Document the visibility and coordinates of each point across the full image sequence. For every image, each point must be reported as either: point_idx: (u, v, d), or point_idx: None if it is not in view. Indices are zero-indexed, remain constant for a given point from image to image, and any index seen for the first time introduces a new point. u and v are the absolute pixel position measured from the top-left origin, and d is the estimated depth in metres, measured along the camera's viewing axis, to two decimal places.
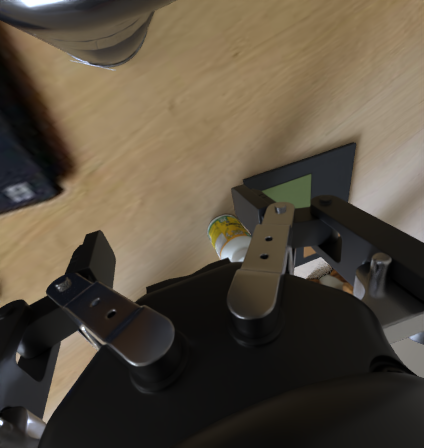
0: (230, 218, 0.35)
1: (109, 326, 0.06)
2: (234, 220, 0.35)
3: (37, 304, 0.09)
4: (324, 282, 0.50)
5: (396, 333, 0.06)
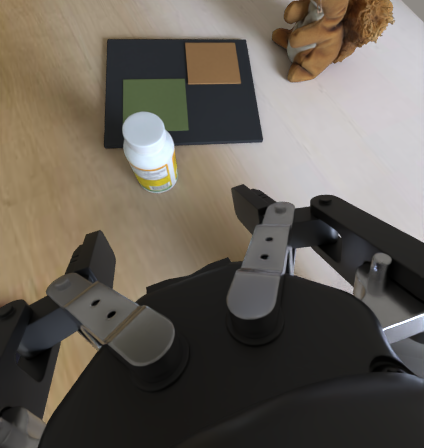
0: None
1: (109, 326, 0.06)
2: None
3: (37, 304, 0.09)
4: (292, 52, 0.36)
5: (396, 333, 0.06)
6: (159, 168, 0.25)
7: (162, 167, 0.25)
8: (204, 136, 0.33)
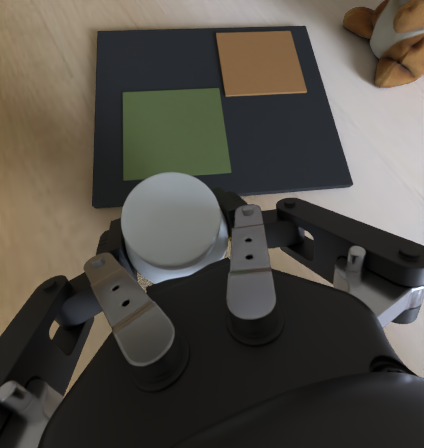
0: None
1: (120, 315, 0.06)
2: None
3: (74, 280, 0.10)
4: (384, 42, 0.23)
5: (384, 319, 0.07)
6: None
7: None
8: (258, 181, 0.20)
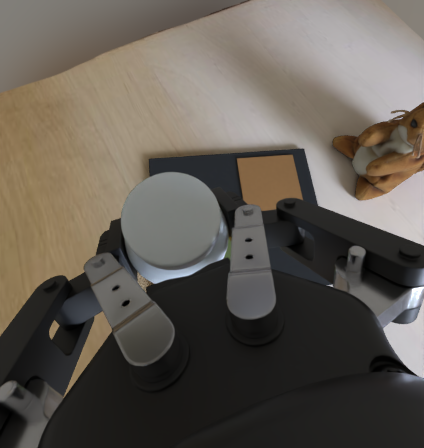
0: None
1: (120, 315, 0.06)
2: None
3: (74, 280, 0.10)
4: (362, 169, 0.31)
5: (384, 319, 0.07)
6: None
7: None
8: None
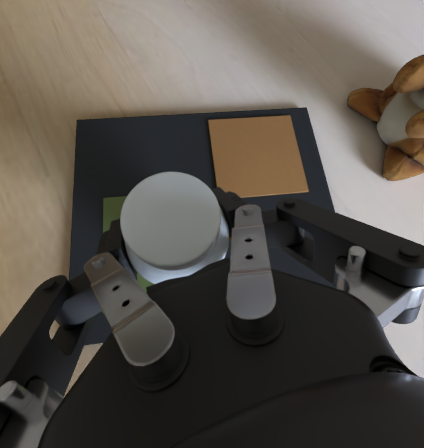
0: None
1: (121, 315, 0.06)
2: None
3: (74, 280, 0.10)
4: (393, 134, 0.21)
5: (384, 319, 0.07)
6: None
7: None
8: None
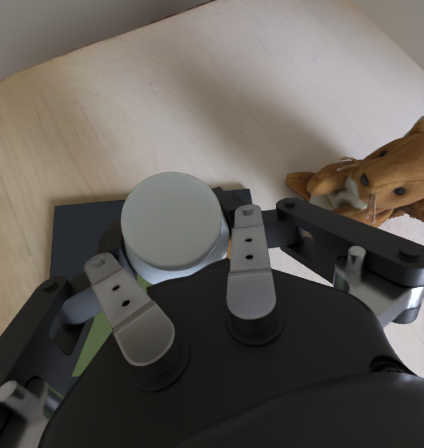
0: None
1: (121, 315, 0.06)
2: None
3: (74, 280, 0.10)
4: None
5: (384, 319, 0.07)
6: None
7: None
8: None
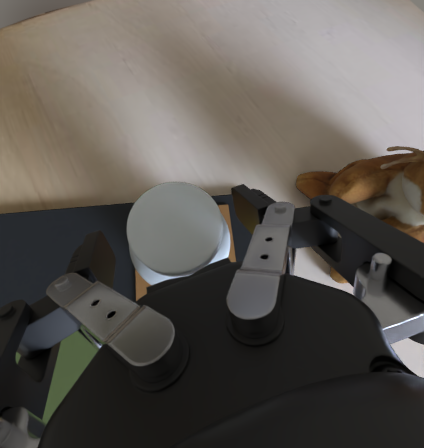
0: None
1: (109, 326, 0.06)
2: None
3: (37, 304, 0.09)
4: None
5: (396, 333, 0.06)
6: None
7: None
8: None
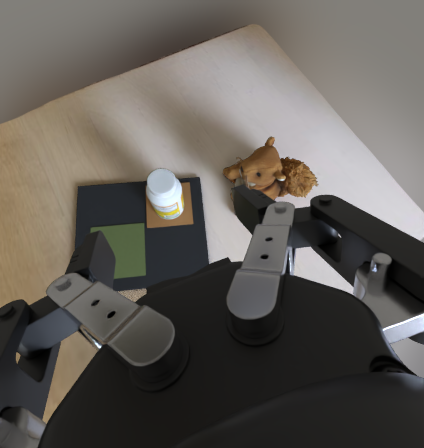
0: None
1: (109, 326, 0.06)
2: None
3: (37, 304, 0.09)
4: None
5: (396, 333, 0.06)
6: (171, 205, 0.35)
7: (173, 204, 0.35)
8: (159, 280, 0.38)
